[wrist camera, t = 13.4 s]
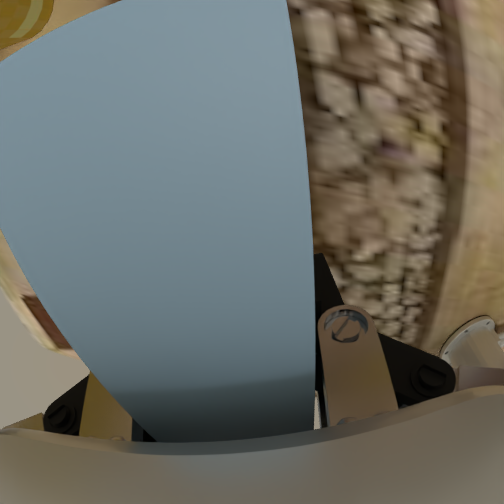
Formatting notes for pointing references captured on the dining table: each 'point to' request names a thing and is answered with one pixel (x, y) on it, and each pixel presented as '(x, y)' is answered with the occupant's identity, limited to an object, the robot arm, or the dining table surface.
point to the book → (22, 19)
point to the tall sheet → (169, 210)
